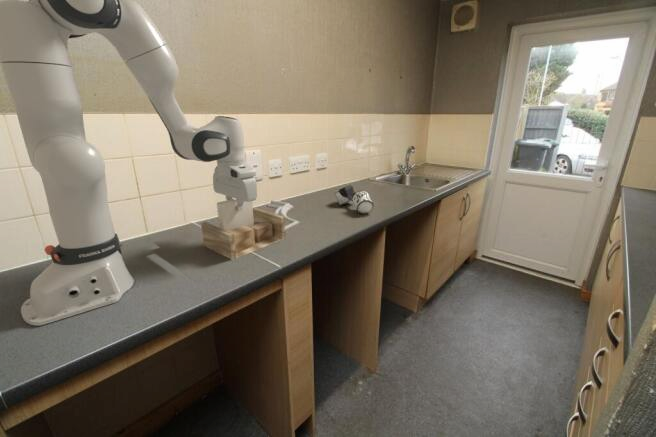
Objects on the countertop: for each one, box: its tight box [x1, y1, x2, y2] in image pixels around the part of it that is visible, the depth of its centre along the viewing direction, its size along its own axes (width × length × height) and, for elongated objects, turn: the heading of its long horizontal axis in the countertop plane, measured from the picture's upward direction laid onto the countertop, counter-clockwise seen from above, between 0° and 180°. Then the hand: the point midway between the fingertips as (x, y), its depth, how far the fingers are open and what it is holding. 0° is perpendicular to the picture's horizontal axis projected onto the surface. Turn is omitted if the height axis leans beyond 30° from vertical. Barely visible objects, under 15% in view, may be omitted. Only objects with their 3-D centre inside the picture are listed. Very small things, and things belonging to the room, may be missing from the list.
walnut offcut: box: [250, 222, 273, 243], centre depth 108 cm, size 6×4×5 cm, turn 140°
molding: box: [267, 200, 300, 231], centre depth 136 cm, size 42×12×3 cm, turn 15°
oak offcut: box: [228, 226, 255, 253], centre depth 101 cm, size 8×5×6 cm, turn 140°
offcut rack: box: [200, 207, 287, 261], centre depth 105 cm, size 22×16×10 cm
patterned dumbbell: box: [334, 184, 374, 215], centre depth 146 cm, size 25×10×10 cm, turn 30°
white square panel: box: [216, 198, 254, 231], centre depth 106 cm, size 12×2×13 cm, turn 140°
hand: (235, 209), depth 105 cm, fingers closed on white square panel, 2 cm apart
